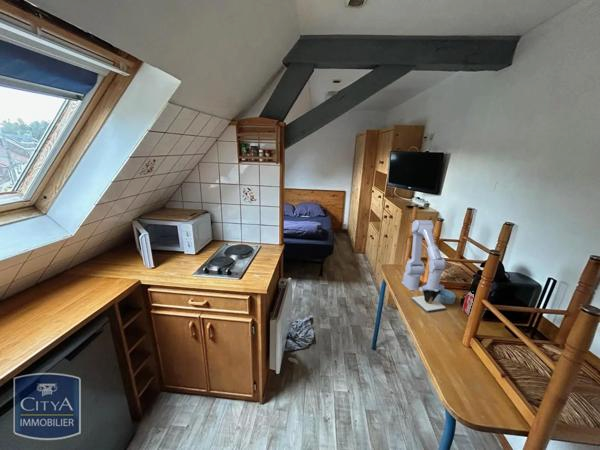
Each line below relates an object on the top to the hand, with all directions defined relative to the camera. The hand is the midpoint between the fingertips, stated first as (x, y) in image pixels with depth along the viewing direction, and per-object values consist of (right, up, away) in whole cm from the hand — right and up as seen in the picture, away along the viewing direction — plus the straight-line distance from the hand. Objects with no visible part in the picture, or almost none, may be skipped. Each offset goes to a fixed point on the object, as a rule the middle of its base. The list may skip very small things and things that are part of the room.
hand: (428, 300), depth 136 cm
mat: (0, -3, +1) cm, 3 cm away
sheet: (0, -1, 0) cm, 1 cm away
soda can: (+19, -6, -5) cm, 21 cm away
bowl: (+13, -1, +7) cm, 15 cm away
